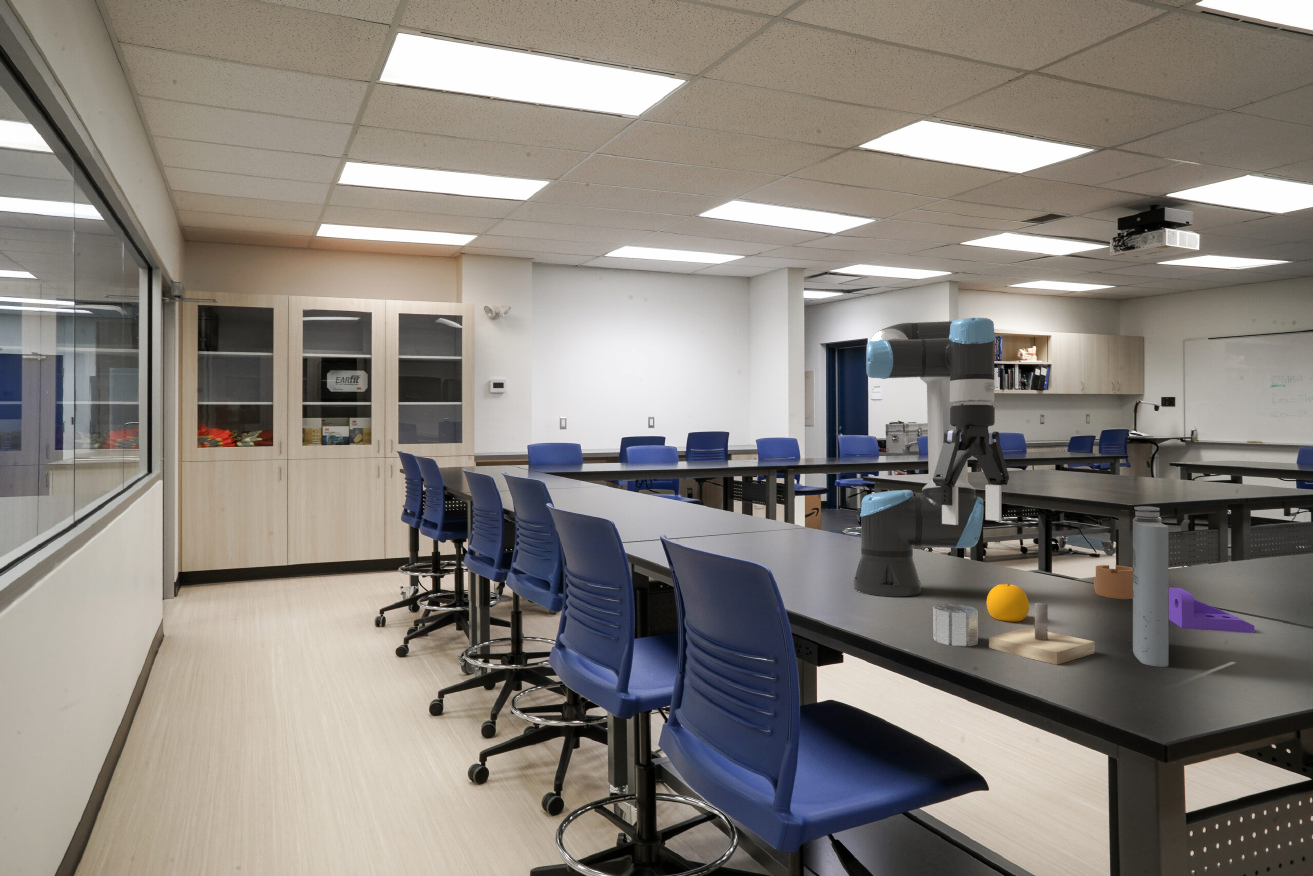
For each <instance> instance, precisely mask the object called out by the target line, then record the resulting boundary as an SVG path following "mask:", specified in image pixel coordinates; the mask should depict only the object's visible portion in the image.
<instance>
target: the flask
mask: <svg viewBox="0 0 1313 876" xmlns="http://www.w3.org/2000/svg"><path fill="white" fill-rule="evenodd" d="M1133 508H1134V510H1135V513H1134V514H1135V516H1134V518H1132V568H1133V599H1132V652H1133V655H1134V656H1135V657H1136V659H1137V660H1138V661H1139V662H1140V663H1142V664H1143V665H1147V666H1151V667H1152V666H1153V667H1164V668H1166V667H1169V525H1167V524H1164V523H1162V518H1161V517H1160V509H1161V508H1160V507H1156V506H1134V507H1133Z"/></svg>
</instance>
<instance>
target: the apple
mask: <svg viewBox="0 0 1313 876" xmlns="http://www.w3.org/2000/svg"><path fill="white" fill-rule="evenodd" d="M986 608H987V612H988V613H989V615H990V616H991V617H992V618H993V619H994V620H998V621H1001V622H1008V623H1010V622H1011V623H1016V622H1022V621H1023V620H1025V619H1026V617H1027V616H1028V615H1029V611H1030V602H1029V598H1028V595H1027V594H1026V592H1025V591H1024V590H1023V589H1022V588H1021V587H1019V586H1018V585H1015V584H1011V583H1000V584H997V585H996V586H994V587H992V588H991V589H990V591H989V592H988V595H987V596H986Z"/></svg>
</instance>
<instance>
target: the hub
mask: <svg viewBox="0 0 1313 876" xmlns="http://www.w3.org/2000/svg"><path fill="white" fill-rule="evenodd" d="M978 611H979V610H978V609H977V608H976V607H974V606H968V605H964V604H953V603H952V604H951V603H942V604H936V605H933V607H932V612H933V613H932V618H933V619H932V622H933V624H932V638H933V639H934V641H935V642H937V643H939V644H943V645H948V646H953V647H971V646H976V645H978V644H979V643H978V642H979V612H978Z"/></svg>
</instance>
